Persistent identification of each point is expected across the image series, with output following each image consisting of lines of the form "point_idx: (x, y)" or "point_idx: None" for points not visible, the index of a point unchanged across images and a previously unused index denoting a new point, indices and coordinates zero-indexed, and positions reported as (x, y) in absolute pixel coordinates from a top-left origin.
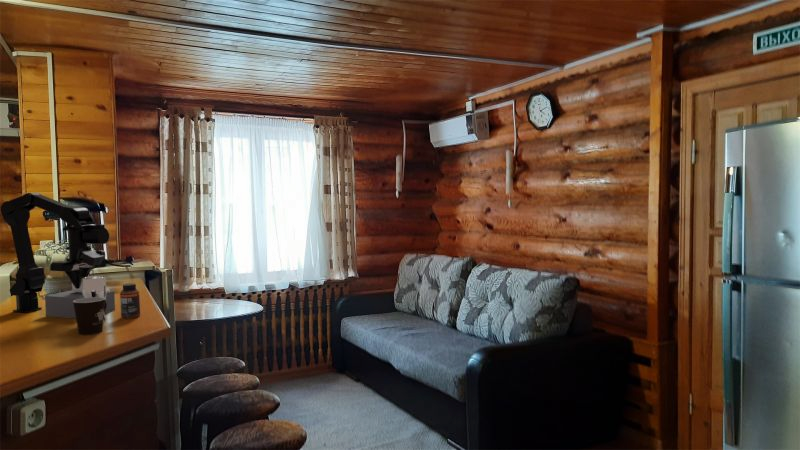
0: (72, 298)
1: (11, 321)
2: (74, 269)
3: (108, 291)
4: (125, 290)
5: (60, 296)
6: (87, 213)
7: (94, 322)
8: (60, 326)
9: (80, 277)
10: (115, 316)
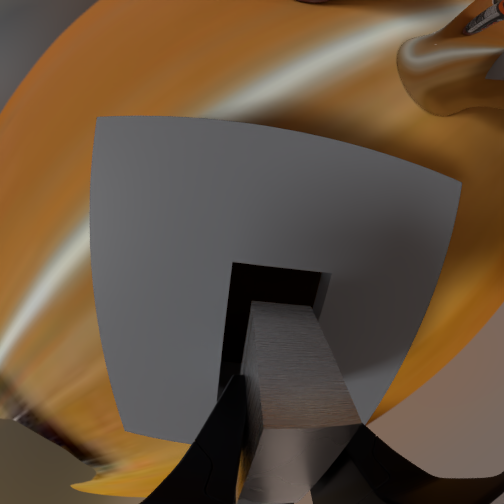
0: (436, 275)
1: (393, 400)
2: (501, 501)
3: (126, 154)
4: None
5: (382, 381)
6: None
7: None
8: (480, 192)
9: (296, 470)
10: (305, 37)
